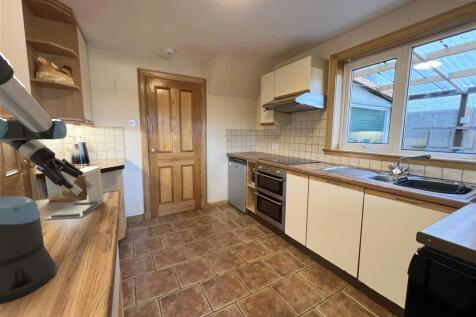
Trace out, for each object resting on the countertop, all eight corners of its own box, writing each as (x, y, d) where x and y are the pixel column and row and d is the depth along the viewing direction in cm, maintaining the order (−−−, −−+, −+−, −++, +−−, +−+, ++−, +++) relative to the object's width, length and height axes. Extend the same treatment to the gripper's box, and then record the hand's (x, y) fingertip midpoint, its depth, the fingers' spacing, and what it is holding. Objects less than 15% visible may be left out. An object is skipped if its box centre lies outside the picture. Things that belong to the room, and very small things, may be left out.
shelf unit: (81, 217, 95) (75, 175, 91) (44, 219, 93) (38, 176, 90) (104, 201, 115) (100, 166, 112) (75, 202, 113) (70, 167, 110)
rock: (94, 194, 86) (96, 185, 94) (76, 181, 82) (80, 173, 90) (70, 212, 83) (75, 202, 92) (50, 199, 79) (57, 189, 88)
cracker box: (80, 198, 120) (75, 163, 117) (71, 202, 114) (66, 165, 111) (58, 197, 122) (53, 162, 118) (48, 201, 116) (42, 164, 112)
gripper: (51, 156, 94) (93, 189, 98) (7, 164, 74) (63, 204, 78) (62, 144, 94) (103, 177, 98) (22, 149, 74) (76, 190, 78)
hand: (85, 189), depth 88 cm, fingers closed on rock, 7 cm apart
